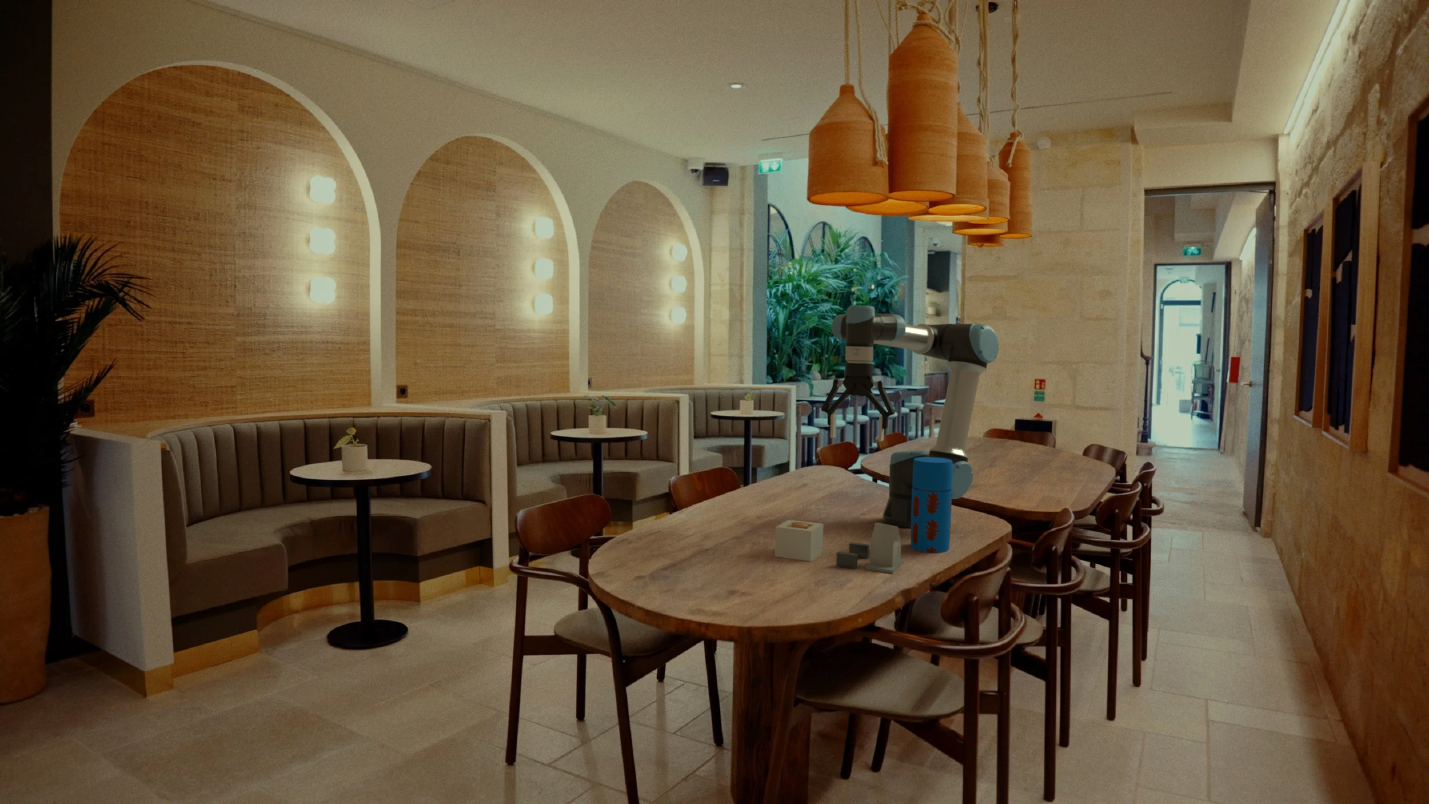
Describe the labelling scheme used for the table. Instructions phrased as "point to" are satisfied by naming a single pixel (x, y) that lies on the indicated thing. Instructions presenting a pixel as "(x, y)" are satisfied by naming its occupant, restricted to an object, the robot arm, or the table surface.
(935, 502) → the thermos
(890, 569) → the mat
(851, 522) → the table surface
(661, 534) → the table surface
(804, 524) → the plunger
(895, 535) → the tea bag
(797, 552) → the housing
